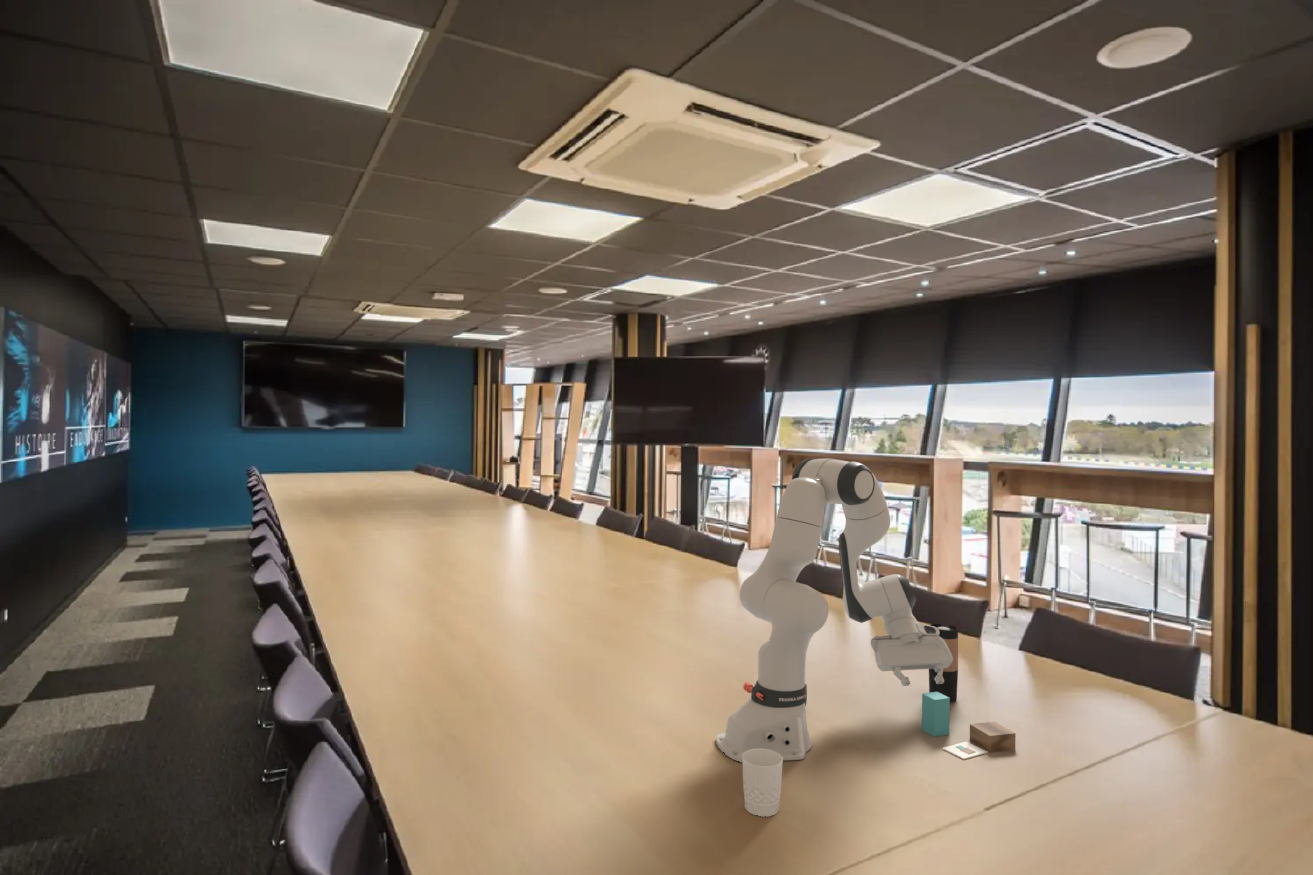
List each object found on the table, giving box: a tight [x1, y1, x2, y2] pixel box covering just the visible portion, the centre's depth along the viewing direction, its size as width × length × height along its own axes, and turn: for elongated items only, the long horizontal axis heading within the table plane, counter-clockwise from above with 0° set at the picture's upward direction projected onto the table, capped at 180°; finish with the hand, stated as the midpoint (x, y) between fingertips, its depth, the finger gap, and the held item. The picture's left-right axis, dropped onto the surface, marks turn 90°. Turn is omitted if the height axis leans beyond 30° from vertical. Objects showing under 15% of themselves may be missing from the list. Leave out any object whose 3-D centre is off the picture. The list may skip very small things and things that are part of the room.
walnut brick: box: [969, 721, 1017, 753], centre depth 168 cm, size 7×7×4 cm
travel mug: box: [928, 622, 959, 703], centre depth 197 cm, size 8×8×20 cm
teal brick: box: [921, 692, 951, 737], centre depth 175 cm, size 4×4×9 cm
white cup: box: [741, 749, 784, 818], centre depth 138 cm, size 8×8×10 cm
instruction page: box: [942, 741, 989, 761], centre depth 164 cm, size 8×6×1 cm
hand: (923, 683), depth 180 cm, fingers open, 8 cm apart
